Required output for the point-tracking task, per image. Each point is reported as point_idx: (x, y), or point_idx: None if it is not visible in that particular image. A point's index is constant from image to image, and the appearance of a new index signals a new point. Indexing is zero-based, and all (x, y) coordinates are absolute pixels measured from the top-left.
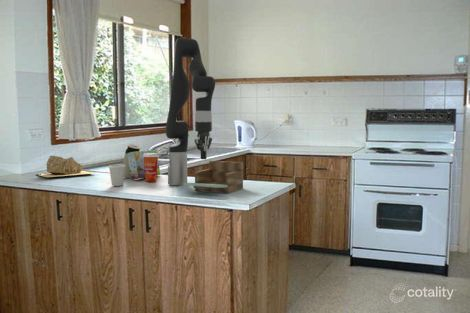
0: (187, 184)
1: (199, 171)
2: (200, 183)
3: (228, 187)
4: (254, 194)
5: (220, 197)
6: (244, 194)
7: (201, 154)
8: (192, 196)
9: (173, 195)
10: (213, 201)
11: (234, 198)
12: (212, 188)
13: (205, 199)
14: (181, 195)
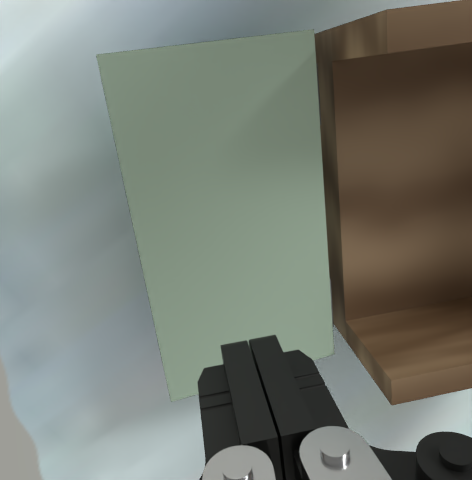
0: (109, 115)
1: (467, 21)
2: (285, 137)
3: (344, 338)
4: (371, 443)
5: None
6: (345, 405)
7: (205, 428)
8: (84, 192)
9: (13, 22)
10: (29, 416)
11: (194, 441)
12: (332, 206)
13: (50, 339)
14: (61, 86)
